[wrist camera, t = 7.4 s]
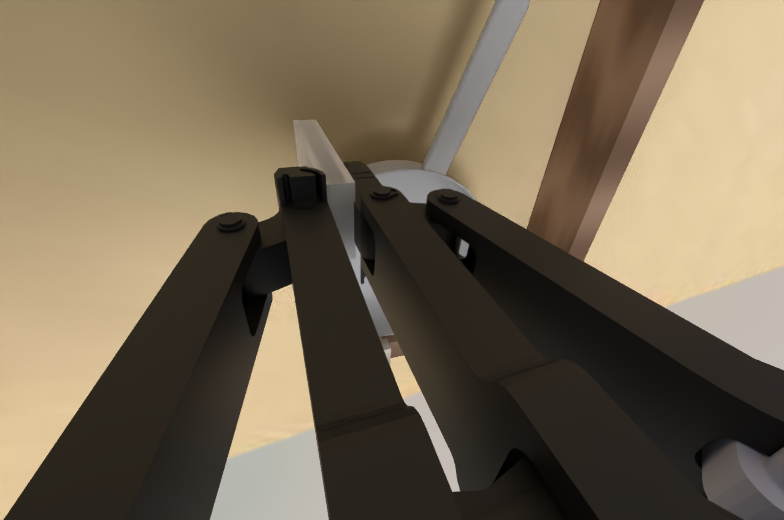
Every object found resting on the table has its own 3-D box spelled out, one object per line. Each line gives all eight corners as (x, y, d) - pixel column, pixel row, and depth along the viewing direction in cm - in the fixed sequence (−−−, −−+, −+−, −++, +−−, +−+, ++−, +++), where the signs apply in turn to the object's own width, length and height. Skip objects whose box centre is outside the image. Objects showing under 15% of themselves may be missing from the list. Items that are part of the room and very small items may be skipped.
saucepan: (269, 292, 22) (271, 339, 19) (357, -80, 13) (387, -102, 10) (419, 305, 26) (440, 344, 23) (557, 37, 18) (617, 45, 15)
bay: (360, -318, 10) (419, -496, 6) (702, -216, 13) (867, -294, 10) (362, 320, 25) (380, 376, 22) (522, 291, 29) (560, 334, 25)
